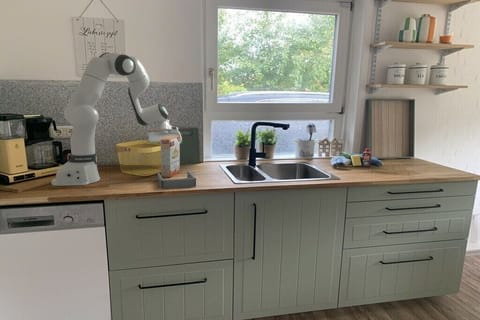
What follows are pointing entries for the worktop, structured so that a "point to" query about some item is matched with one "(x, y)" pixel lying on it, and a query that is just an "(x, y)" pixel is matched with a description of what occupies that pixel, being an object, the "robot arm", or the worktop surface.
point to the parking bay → (177, 181)
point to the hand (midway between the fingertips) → (166, 149)
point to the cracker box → (170, 156)
